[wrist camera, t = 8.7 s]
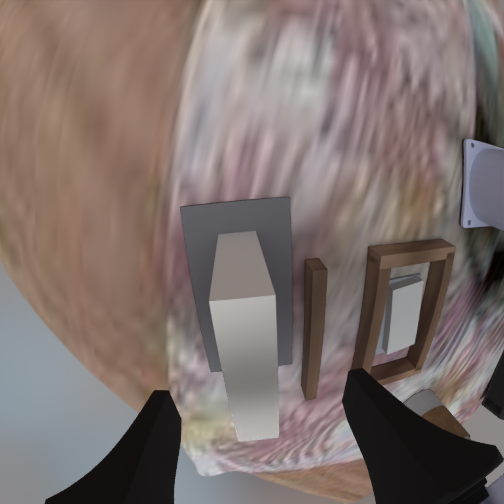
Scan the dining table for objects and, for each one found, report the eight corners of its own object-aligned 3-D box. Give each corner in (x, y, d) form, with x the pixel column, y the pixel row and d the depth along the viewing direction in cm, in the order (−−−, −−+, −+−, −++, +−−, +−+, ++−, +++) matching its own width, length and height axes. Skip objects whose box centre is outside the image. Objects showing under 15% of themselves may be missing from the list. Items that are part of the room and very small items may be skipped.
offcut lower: (415, 269, 21) (421, 274, 20) (400, 340, 24) (405, 346, 23) (382, 275, 21) (387, 280, 20) (371, 348, 24) (375, 354, 23)
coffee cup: (398, 394, 26) (449, 486, 12) (446, 375, 27) (500, 449, 13) (381, 429, 29) (417, 508, 15) (427, 411, 30) (466, 479, 16)
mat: (288, 196, 17) (289, 197, 17) (291, 361, 22) (292, 364, 22) (180, 206, 17) (180, 207, 17) (211, 369, 22) (210, 372, 22)
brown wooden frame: (441, 238, 19) (455, 246, 18) (411, 361, 24) (419, 372, 22) (305, 253, 19) (312, 263, 17) (300, 388, 24) (305, 403, 22)
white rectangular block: (255, 230, 18) (275, 294, 10) (263, 350, 21) (279, 437, 13) (218, 234, 18) (209, 301, 10) (234, 353, 21) (238, 441, 13)
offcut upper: (417, 275, 20) (423, 280, 19) (409, 338, 23) (414, 343, 22) (387, 285, 20) (392, 290, 19) (382, 348, 23) (386, 354, 22)
